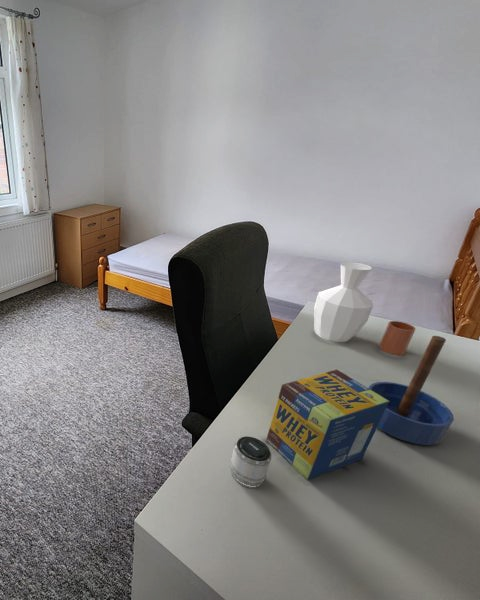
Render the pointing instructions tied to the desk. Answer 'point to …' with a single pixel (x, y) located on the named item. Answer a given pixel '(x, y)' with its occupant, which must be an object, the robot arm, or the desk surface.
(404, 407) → the stick
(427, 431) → the bowl
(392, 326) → the holder
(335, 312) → the vase
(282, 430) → the protein box
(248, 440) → the small jar
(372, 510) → the desk surface
